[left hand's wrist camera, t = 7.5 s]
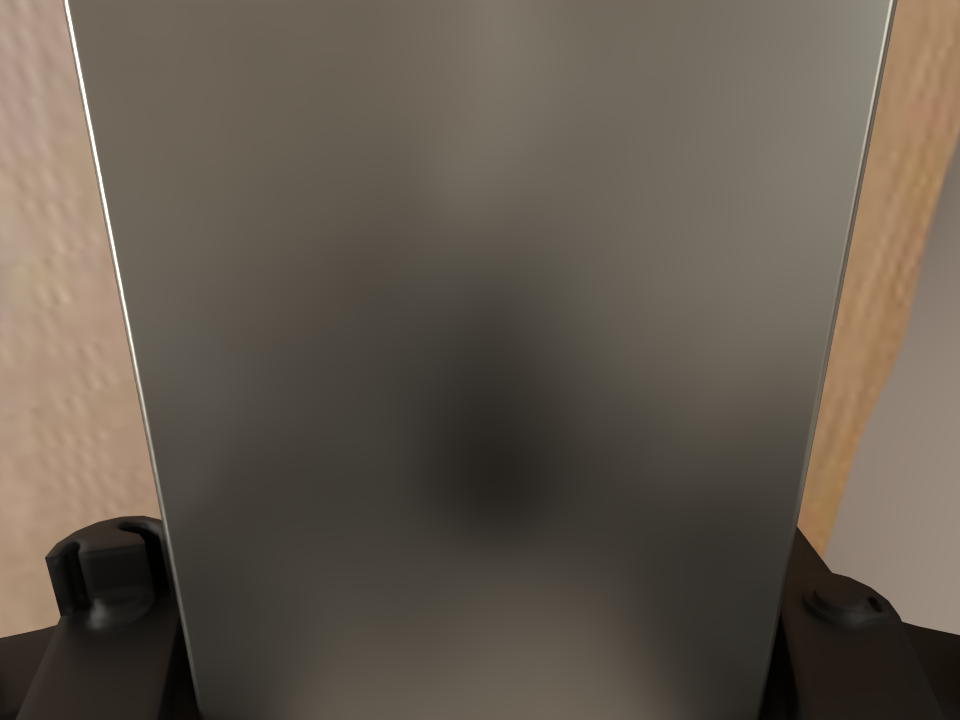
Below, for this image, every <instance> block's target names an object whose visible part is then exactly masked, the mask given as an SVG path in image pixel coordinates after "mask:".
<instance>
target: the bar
mask: <svg viewBox="0 0 960 720" xmlns="http://www.w3.org/2000/svg"><path fill="white" fill-rule="evenodd" d="M63 5H64V10H65V16H66V21H67V26H68V31H69V36H70V42H71V47H72V52H73V57H74V63H75V68H76V73H77V78H78V84H79V89H80V94H81V99H82V105H83V110H84V115H85V120H86V125H87V131H88V136H89V141H90V146H91V152H92V157H93V162H94V167H95V173H96V178H97V183H98V188H99V194H100V199H101V204H102V209H103V214H104V220H105V225H106V230H107V235H108V241H109V246H110V251H111V256H112V262H113V267H114V272H115V277H116V283H117V288H118V293H119V298H120V303H121V309H122V314H123V319H124V324H125V330H126V335H127V340H128V345H129V351H130V356H131V361H132V366H133V372H134V377H135V382H136V387H137V392H138V398H139V403H140V408H141V413H142V419H143V424H144V429H145V434H146V440H147V445H148V450H149V455H150V461H151V466H152V471H153V476H154V481H155V487H156V492H157V497H158V502H159V508H160V513H161V518H162V523H163V529H164V534H165V539H166V544H167V550H168V555H169V560H170V565H171V571H172V576H173V581H174V586H175V591H176V597H177V602H178V607H179V612H180V618H181V623H182V628H183V633H184V639H185V644H186V649H187V654H188V660H189V665H190V670H191V675H192V680H193V686H194V691H195V696H196V701H197V707H198V712H199V717H200V720H760V716H761V711H762V706H763V700H764V695H765V690H766V685H767V679H768V674H769V669H770V664H771V658H772V653H773V648H774V643H775V638H776V632H777V627H778V622H779V617H780V611H781V606H782V601H783V596H784V590H785V585H786V580H787V575H788V570H789V564H790V559H791V554H792V549H793V543H794V538H795V533H796V528H797V522H798V517H799V512H800V507H801V502H802V496H803V491H804V486H805V481H806V475H807V470H808V465H809V460H810V454H811V449H812V444H813V439H814V434H815V428H816V423H817V418H818V413H819V407H820V402H821V397H822V392H823V386H824V381H825V376H826V371H827V366H828V360H829V355H830V350H831V345H832V339H833V334H834V329H835V324H836V318H837V313H838V308H839V303H840V298H841V292H842V287H843V282H844V277H845V271H846V266H847V261H848V256H849V250H850V245H851V240H852V235H853V229H854V224H855V219H856V214H857V209H858V203H859V198H860V193H861V188H862V182H863V177H864V172H865V167H866V161H867V156H868V151H869V146H870V141H871V135H872V130H873V125H874V120H875V114H876V109H877V104H878V99H879V93H880V88H881V83H882V78H883V73H884V67H885V62H886V57H887V52H888V46H889V41H890V36H891V31H892V25H893V20H894V15H895V10H896V5H897V0H63Z"/></svg>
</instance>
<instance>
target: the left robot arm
mask: <svg viewBox="0 0 960 720" xmlns="http://www.w3.org/2000/svg"><path fill="white" fill-rule="evenodd" d="M45 559H46V563H47V566H48V570H49V574H50V578H51V581H52V585H53V589H54V593H55V596H56V600H57V604H58V608H59V611H60V615H61V617H60V620H59V622H58V624H57V625H55V626H52V627H48V628H45V629H41V630H36V631H32V632H27V633H22V634H18V635H13V636H8V637H4V638H0V720H200V717H199V712H198V707H197V701H196V696H195V691H194V686H193V680H192V675H191V670H190V665H189V660H188V654H187V649H186V644H185V639H184V633H183V628H182V623H181V618H180V612H179V607H178V602H177V597H176V591H175V586H174V581H173V576H172V571H171V565H170V560H169V555H168V550H167V544H166V539H165V534H164V529H163V523H162V521H161V520H159V519H155V518H150V517H146V516H128V517H119V518H114V519H110V520H105V521H101V522H97V523H95V524H92V525H90V526H88V527H85V528H83V529H80V530H78V531H75V532H74V533H72V534H71V535H69V536H68V537H66V538H65V539H63V540H62V541H60V542H59V543H57V544H56V545H55V546H54V548H53V549H52V550H51V551H50V552H49V553H48V555H47V556H46V557H45ZM760 720H960V635H956V634H952V633H947V632H942V631H938V630H933V629H928V628H923V627H919V626H915V625H912V624H908V623H904V622H902V621H901V618H900V616H899V615H898V613H897V612H896V611H895V609H894V608H893V606H892V605H891V604H890V602H889V601H888V600H887V599H885V598H884V597H883V596H881V595H880V594H879V593H877V592H876V591H875V590H873V589H872V588H871V587H869V586H867V585H865V584H862V583H860V582H858V581H856V580H854V579H852V578H850V577H846V576H842V575H838V574H834V573H832V572H831V571H830V570H829V568H828V567H827V566H826V564H825V563H824V562H823V560H822V559H821V558H820V556H819V555H818V554H817V552H816V551H815V550H814V548H813V547H812V546H811V544H810V543H809V542H808V540H807V539H806V538H805V536H804V535H803V534H802V532H801V531H800V530H799V528H798V527H797V528H796V533H795V538H794V543H793V549H792V554H791V559H790V564H789V570H788V575H787V580H786V585H785V590H784V596H783V601H782V606H781V611H780V617H779V622H778V627H777V632H776V638H775V643H774V648H773V653H772V658H771V664H770V669H769V674H768V679H767V685H766V690H765V695H764V700H763V706H762V711H761V716H760Z"/></svg>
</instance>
